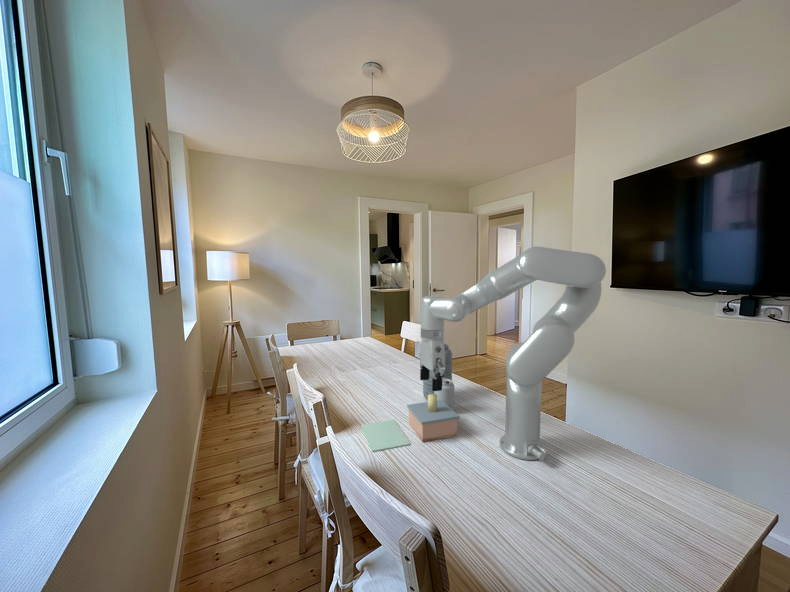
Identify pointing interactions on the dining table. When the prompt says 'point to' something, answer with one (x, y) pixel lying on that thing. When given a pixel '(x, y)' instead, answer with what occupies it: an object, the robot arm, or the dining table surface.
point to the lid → (432, 411)
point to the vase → (447, 374)
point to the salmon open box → (433, 429)
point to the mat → (384, 435)
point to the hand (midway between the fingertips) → (430, 384)
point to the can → (446, 393)
